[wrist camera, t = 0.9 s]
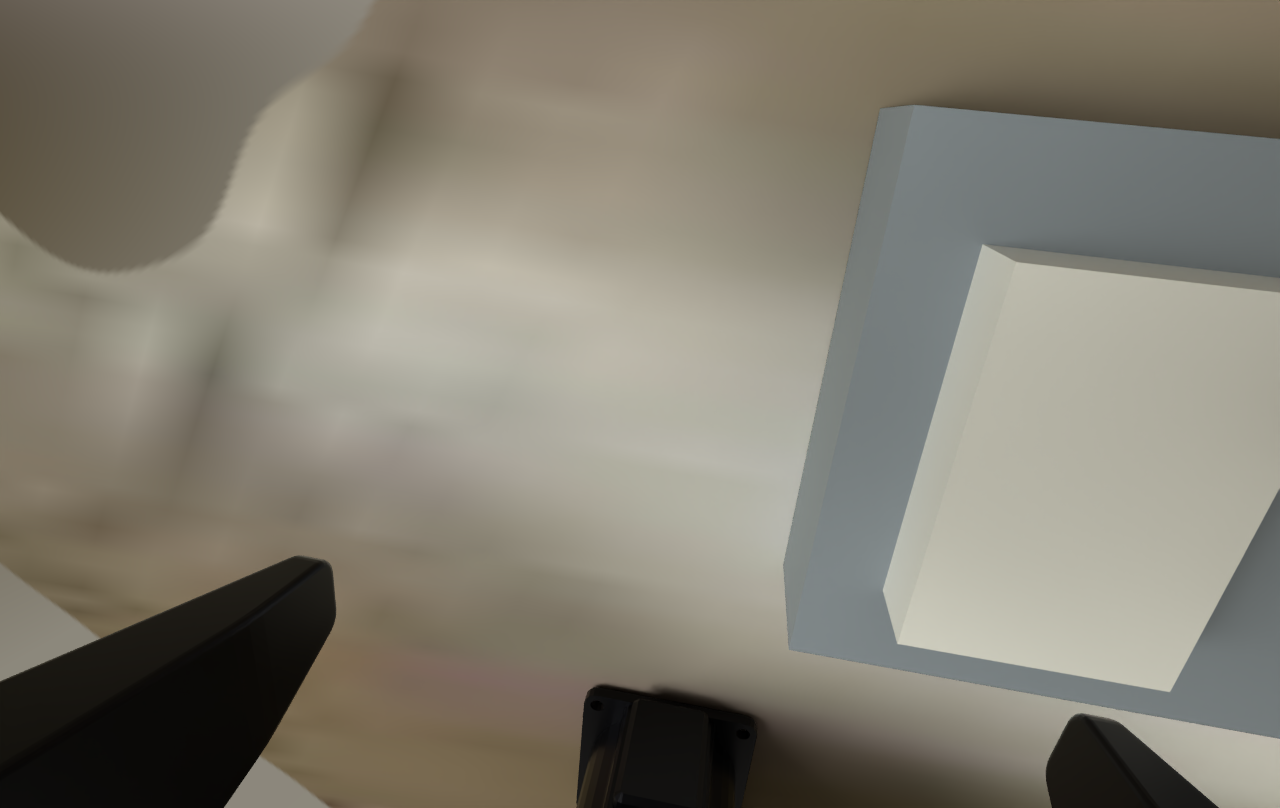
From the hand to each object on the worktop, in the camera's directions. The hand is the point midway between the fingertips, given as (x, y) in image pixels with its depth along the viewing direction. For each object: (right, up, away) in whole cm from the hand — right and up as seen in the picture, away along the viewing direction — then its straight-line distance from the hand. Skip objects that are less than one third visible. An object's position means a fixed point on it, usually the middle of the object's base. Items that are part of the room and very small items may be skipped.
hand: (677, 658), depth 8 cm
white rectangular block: (+9, +2, +7) cm, 12 cm away
